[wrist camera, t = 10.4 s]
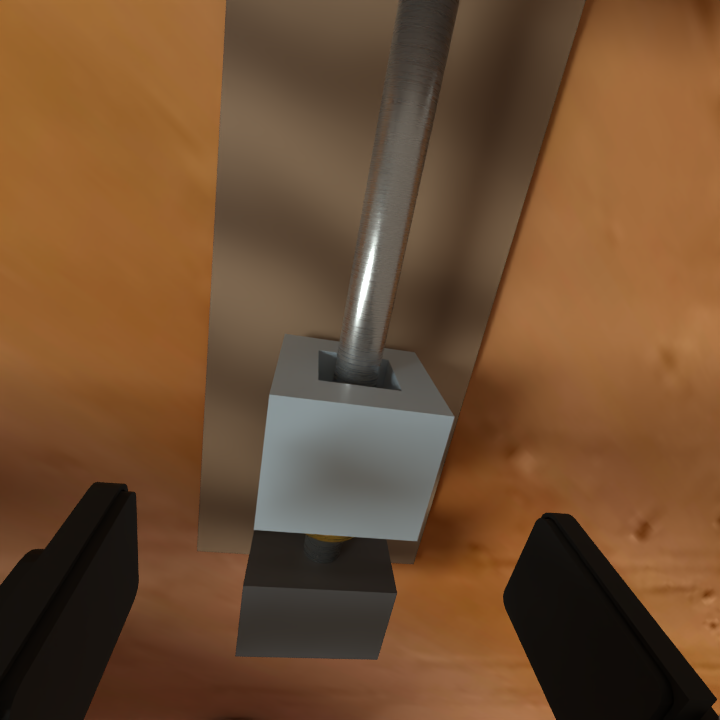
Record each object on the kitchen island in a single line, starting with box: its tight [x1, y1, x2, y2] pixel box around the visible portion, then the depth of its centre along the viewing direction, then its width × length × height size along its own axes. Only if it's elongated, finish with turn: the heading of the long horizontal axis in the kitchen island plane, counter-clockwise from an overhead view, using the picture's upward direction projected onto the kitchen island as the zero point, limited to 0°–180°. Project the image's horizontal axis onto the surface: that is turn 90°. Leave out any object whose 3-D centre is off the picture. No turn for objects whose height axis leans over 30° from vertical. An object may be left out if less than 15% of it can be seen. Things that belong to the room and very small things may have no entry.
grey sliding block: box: [254, 334, 454, 541], centre depth 15 cm, size 5×6×6 cm
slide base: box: [197, 0, 586, 660], centre depth 14 cm, size 32×12×7 cm, turn 170°
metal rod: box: [304, 0, 460, 564], centre depth 14 cm, size 26×3×3 cm, turn 170°
